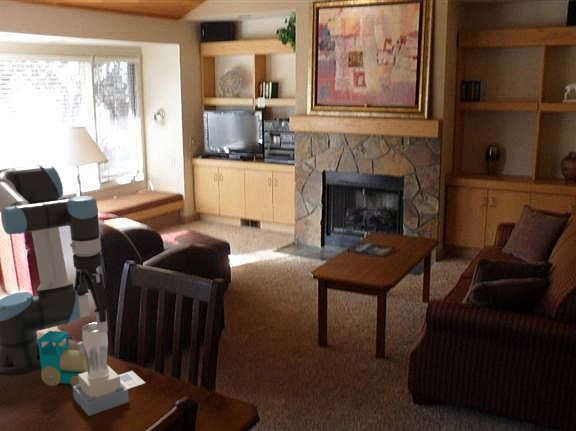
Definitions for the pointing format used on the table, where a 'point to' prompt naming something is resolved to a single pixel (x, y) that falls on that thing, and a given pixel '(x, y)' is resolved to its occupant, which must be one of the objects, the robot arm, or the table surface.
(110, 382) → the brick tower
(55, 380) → the toy train
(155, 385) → the table surface
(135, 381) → the page
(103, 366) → the beer glass
